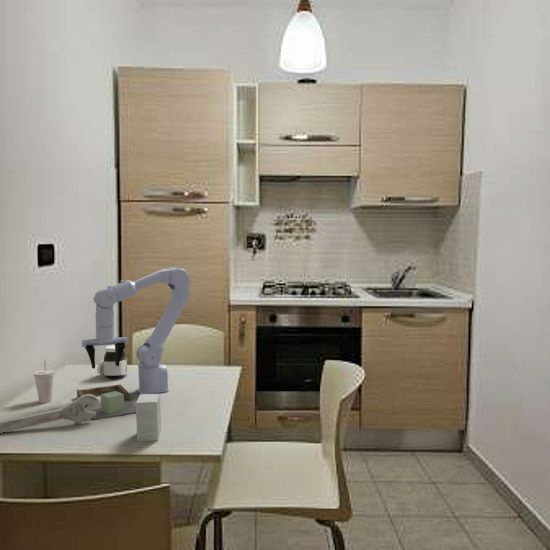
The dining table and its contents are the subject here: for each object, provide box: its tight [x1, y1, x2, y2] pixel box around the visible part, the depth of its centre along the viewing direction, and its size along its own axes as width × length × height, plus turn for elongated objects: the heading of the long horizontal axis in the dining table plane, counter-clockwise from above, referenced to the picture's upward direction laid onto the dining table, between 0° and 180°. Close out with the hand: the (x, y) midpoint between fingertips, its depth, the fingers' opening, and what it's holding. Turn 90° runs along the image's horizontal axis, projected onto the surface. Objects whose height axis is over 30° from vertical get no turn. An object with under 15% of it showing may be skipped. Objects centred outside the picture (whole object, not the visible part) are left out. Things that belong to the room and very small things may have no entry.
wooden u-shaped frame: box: [76, 383, 130, 408], centre depth 191 cm, size 14×12×2 cm
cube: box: [100, 391, 125, 414], centre depth 177 cm, size 5×5×5 cm
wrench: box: [0, 394, 100, 434], centre depth 163 cm, size 8×2×30 cm
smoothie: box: [33, 358, 55, 404], centre depth 189 cm, size 6×6×14 cm
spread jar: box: [96, 344, 128, 380], centre depth 220 cm, size 12×11×12 cm
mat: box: [86, 402, 136, 421], centre depth 177 cm, size 14×9×1 cm, turn 118°
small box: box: [135, 393, 162, 443], centre depth 155 cm, size 8×6×10 cm
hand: (105, 366), depth 191 cm, fingers open, 7 cm apart
